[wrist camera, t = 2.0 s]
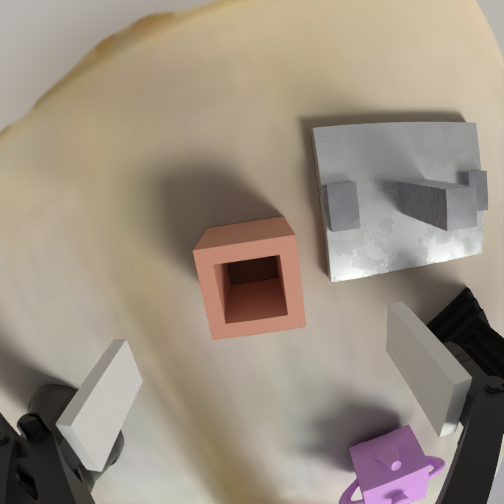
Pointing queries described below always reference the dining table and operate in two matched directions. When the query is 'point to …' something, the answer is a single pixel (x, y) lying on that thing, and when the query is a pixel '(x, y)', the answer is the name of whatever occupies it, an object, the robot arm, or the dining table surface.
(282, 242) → the box
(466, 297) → the chess piece
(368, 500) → the teapot
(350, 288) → the dining table surface
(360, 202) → the stand
